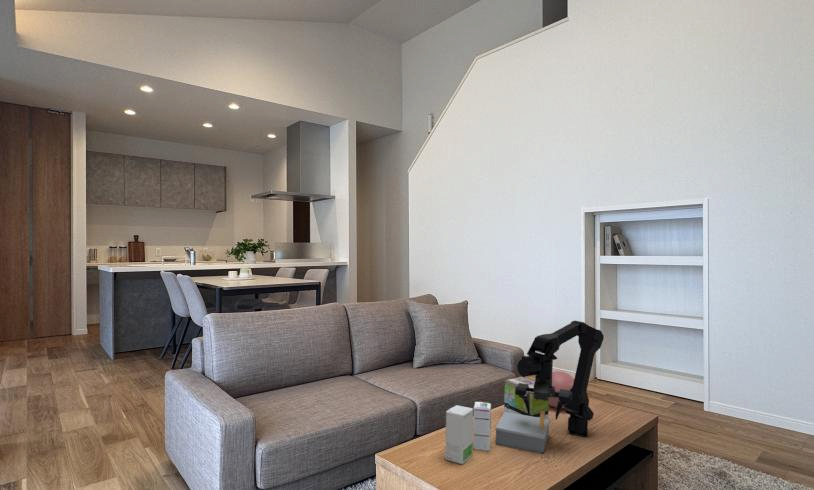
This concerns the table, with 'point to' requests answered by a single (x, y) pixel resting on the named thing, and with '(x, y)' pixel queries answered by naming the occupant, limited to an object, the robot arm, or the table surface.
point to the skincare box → (459, 434)
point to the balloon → (560, 385)
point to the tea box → (517, 404)
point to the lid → (524, 424)
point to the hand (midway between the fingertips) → (542, 416)
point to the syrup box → (482, 426)
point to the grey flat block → (521, 441)
